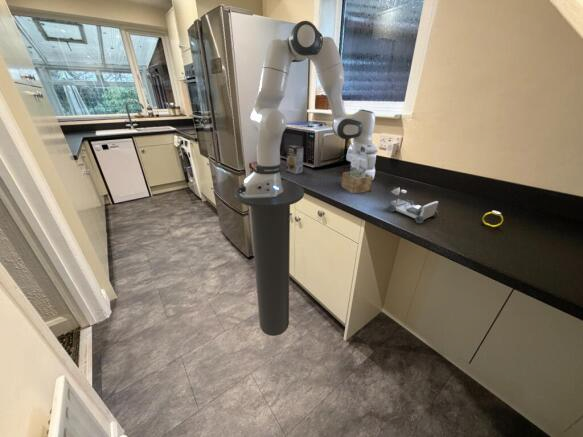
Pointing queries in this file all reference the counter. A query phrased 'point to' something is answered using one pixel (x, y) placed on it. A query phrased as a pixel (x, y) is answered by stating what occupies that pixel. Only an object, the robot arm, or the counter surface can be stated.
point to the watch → (494, 214)
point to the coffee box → (294, 159)
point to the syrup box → (356, 168)
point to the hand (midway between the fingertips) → (357, 173)
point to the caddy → (356, 183)
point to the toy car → (413, 207)
